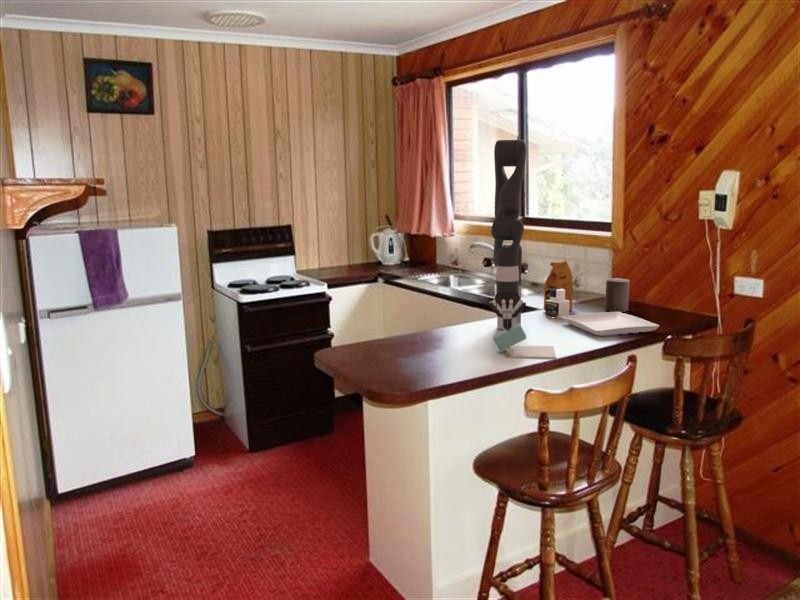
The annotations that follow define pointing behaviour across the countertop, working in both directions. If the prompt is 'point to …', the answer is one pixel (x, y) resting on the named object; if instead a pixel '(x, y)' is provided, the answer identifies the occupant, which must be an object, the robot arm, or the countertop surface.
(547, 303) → the medicine bottle
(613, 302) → the pillar candle
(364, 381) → the countertop surface
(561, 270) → the coffee package
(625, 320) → the square plate
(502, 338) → the teal block
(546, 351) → the mat
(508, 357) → the rail
